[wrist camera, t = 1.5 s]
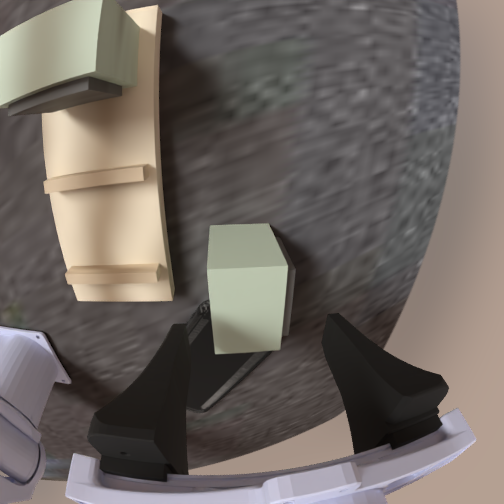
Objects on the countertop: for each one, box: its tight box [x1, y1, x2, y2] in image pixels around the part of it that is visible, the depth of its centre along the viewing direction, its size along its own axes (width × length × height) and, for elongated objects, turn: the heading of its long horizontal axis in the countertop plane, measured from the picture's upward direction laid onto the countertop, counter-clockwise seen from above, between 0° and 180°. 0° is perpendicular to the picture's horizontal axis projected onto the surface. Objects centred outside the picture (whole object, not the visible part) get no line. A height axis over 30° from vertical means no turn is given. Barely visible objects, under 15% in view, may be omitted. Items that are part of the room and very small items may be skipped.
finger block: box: [207, 224, 296, 354], centre depth 18 cm, size 5×6×6 cm
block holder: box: [0, 0, 175, 301], centre depth 13 cm, size 8×20×8 cm, turn 0°
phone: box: [186, 300, 273, 413], centre depth 25 cm, size 8×1×15 cm
